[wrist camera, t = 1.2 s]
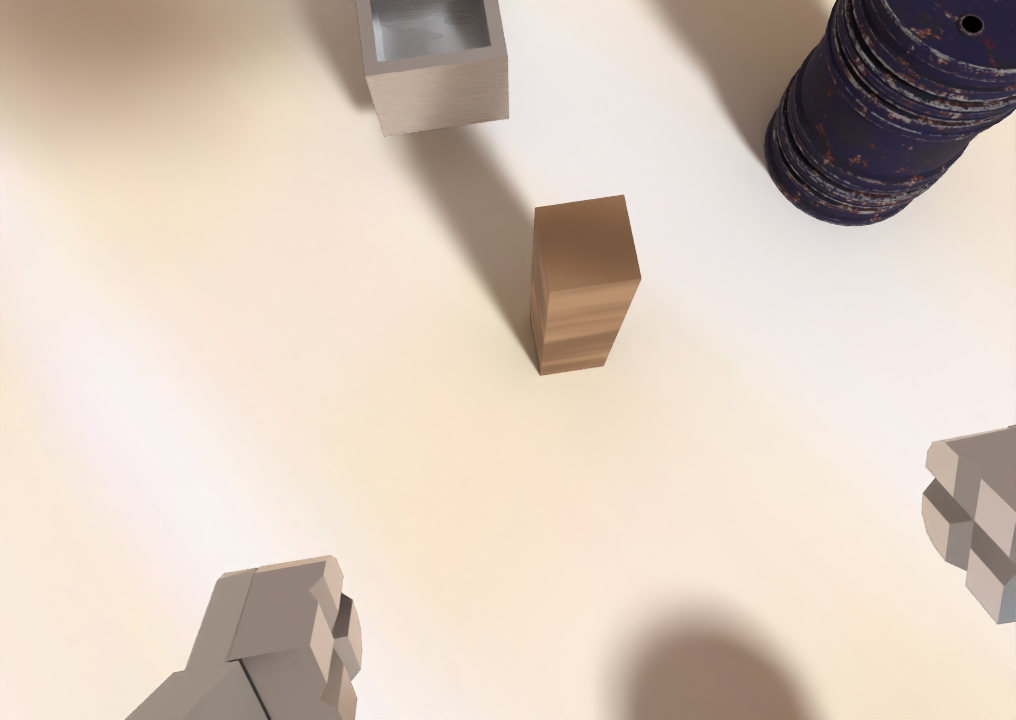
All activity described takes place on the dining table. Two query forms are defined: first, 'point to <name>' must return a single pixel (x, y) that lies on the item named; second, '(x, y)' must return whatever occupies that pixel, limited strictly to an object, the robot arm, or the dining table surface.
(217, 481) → the dining table surface
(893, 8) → the rusty blue barrel
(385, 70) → the bracket
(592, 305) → the rail
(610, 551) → the dining table surface
